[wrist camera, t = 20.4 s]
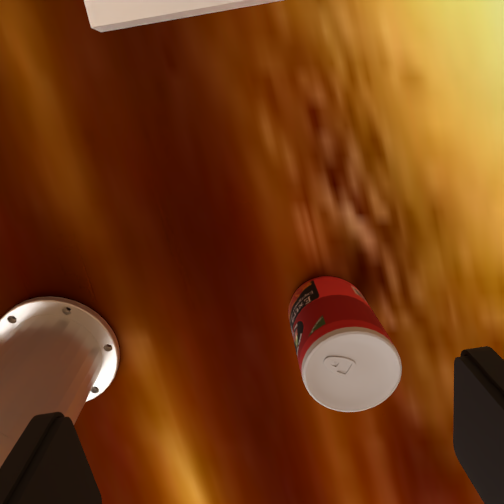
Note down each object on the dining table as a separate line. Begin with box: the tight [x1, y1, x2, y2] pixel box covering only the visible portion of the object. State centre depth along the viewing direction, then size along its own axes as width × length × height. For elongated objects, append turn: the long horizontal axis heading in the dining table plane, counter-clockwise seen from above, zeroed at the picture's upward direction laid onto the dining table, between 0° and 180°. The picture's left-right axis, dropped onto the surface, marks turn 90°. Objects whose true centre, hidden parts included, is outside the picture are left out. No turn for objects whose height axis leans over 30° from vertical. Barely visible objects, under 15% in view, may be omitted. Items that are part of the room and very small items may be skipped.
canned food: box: [288, 276, 402, 412], centre depth 38 cm, size 8×8×11 cm
